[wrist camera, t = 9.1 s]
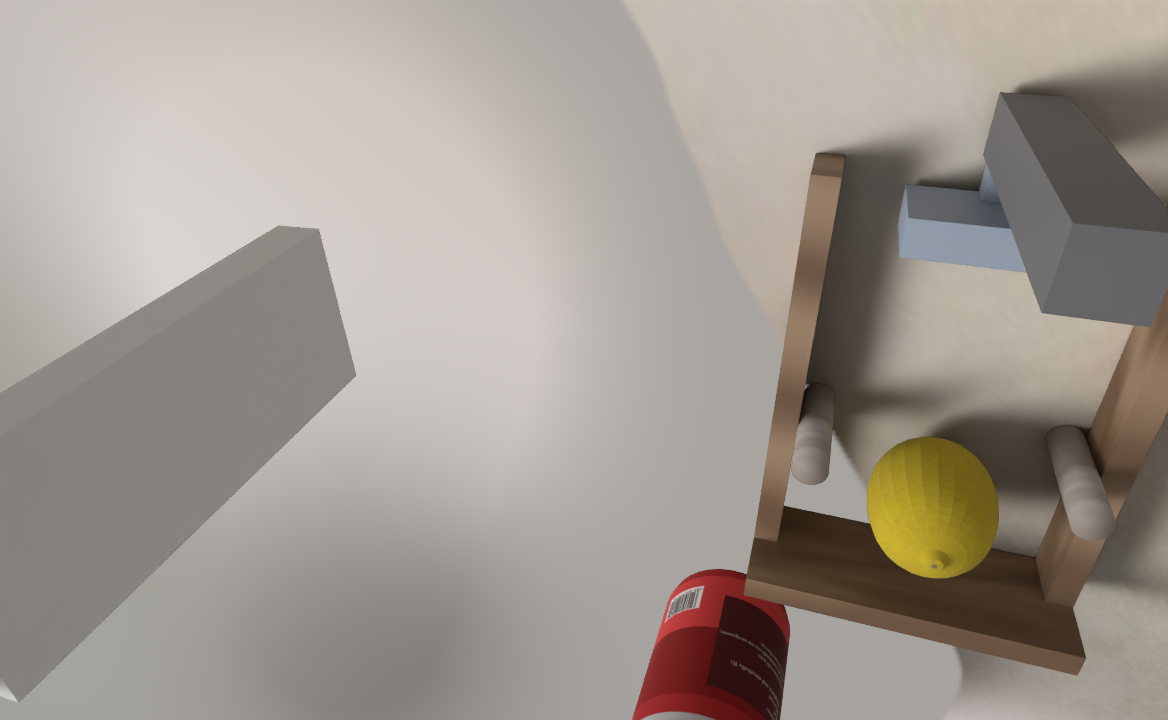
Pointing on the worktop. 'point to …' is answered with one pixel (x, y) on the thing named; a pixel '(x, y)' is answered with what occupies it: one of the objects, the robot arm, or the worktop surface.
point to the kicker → (1050, 215)
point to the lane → (1001, 580)
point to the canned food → (716, 654)
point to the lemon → (932, 507)
